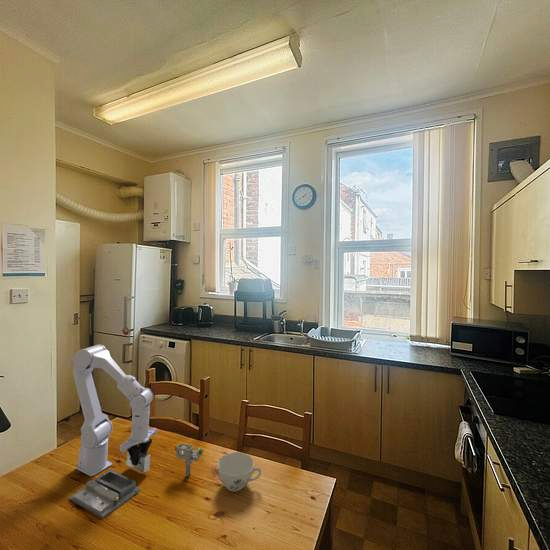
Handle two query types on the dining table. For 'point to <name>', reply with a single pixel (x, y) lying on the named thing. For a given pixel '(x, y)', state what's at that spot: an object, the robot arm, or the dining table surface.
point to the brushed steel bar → (140, 462)
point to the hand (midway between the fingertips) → (138, 462)
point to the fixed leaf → (105, 493)
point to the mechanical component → (187, 455)
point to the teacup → (236, 470)
